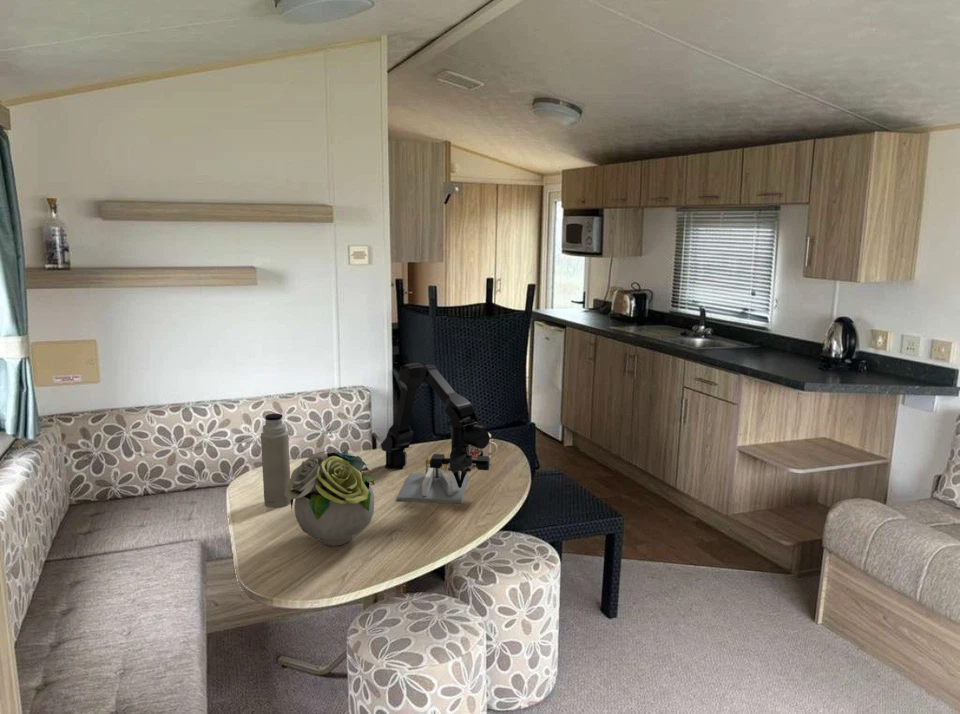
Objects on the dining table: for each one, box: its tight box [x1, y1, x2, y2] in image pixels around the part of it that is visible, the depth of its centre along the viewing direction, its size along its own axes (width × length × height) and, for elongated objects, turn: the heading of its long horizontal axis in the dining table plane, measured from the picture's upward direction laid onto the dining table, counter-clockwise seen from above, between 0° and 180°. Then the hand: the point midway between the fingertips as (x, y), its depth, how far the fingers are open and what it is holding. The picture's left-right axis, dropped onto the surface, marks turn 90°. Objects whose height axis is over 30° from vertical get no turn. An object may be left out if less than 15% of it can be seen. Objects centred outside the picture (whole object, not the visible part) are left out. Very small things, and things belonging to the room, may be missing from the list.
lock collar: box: [425, 456, 449, 475], centre depth 230 cm, size 7×2×6 cm, turn 85°
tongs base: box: [397, 466, 469, 504], centre depth 223 cm, size 20×21×5 cm
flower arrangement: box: [284, 449, 375, 547], centre depth 185 cm, size 25×25×24 cm
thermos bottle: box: [260, 413, 291, 509], centre depth 208 cm, size 8×8×28 cm
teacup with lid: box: [469, 432, 499, 459], centre depth 250 cm, size 12×9×12 cm
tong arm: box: [438, 465, 453, 496], centre depth 222 cm, size 2×16×4 cm, turn 14°
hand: (460, 487), depth 220 cm, fingers closed
